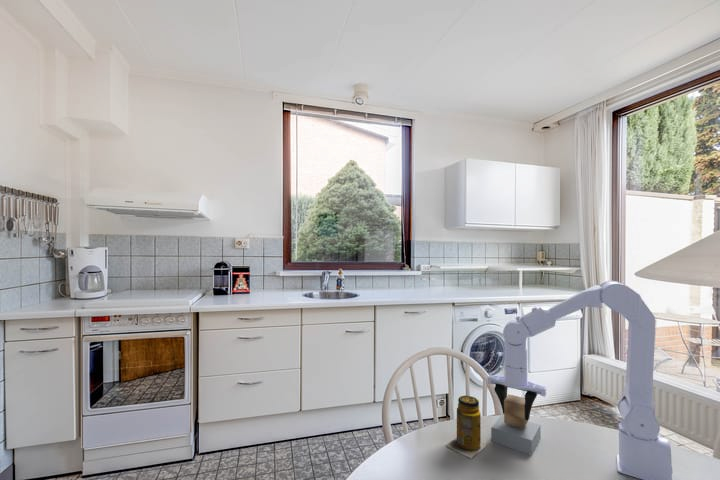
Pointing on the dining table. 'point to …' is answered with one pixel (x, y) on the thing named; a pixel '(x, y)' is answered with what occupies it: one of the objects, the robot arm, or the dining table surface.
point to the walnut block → (515, 411)
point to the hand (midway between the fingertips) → (516, 415)
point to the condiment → (468, 427)
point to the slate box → (516, 435)
